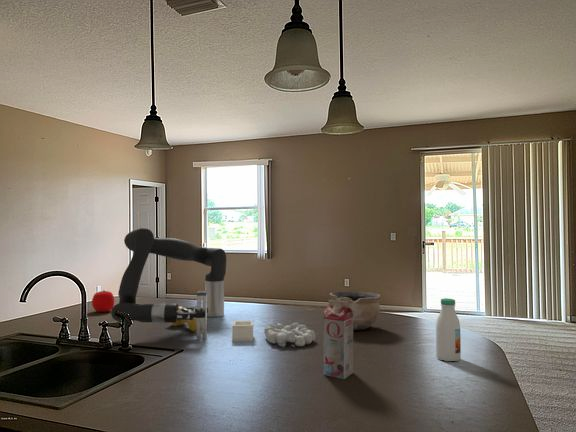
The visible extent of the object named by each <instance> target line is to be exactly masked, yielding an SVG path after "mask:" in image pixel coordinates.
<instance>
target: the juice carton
mask: <svg viewBox="0 0 576 432" xmlns="http://www.w3.org/2000/svg"><path fill="white" fill-rule="evenodd" d="M327 301H328V306H327V307H326V308H325V309H324V311H323V376H327V377H332V378H336V379H341V380H345V379H347V378H348V377H349V376H351V375H352V374H354V330H353V311H352V310H351V309H350V308H349V302H344V301H335V300H331V299H328V300H327Z"/></svg>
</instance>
